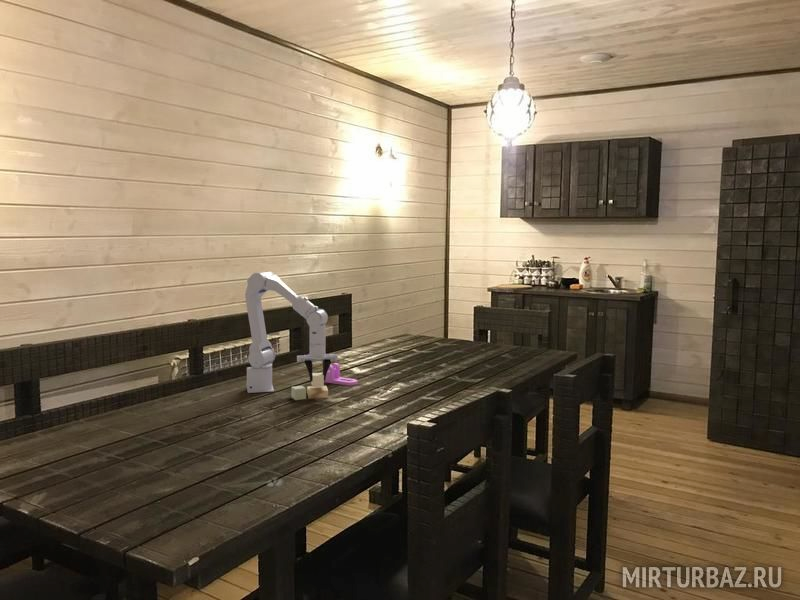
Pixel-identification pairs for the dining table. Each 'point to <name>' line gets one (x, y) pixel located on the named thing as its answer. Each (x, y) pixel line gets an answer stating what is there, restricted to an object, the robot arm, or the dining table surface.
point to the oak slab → (317, 392)
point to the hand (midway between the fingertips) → (317, 380)
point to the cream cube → (317, 379)
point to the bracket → (338, 376)
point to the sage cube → (298, 392)
